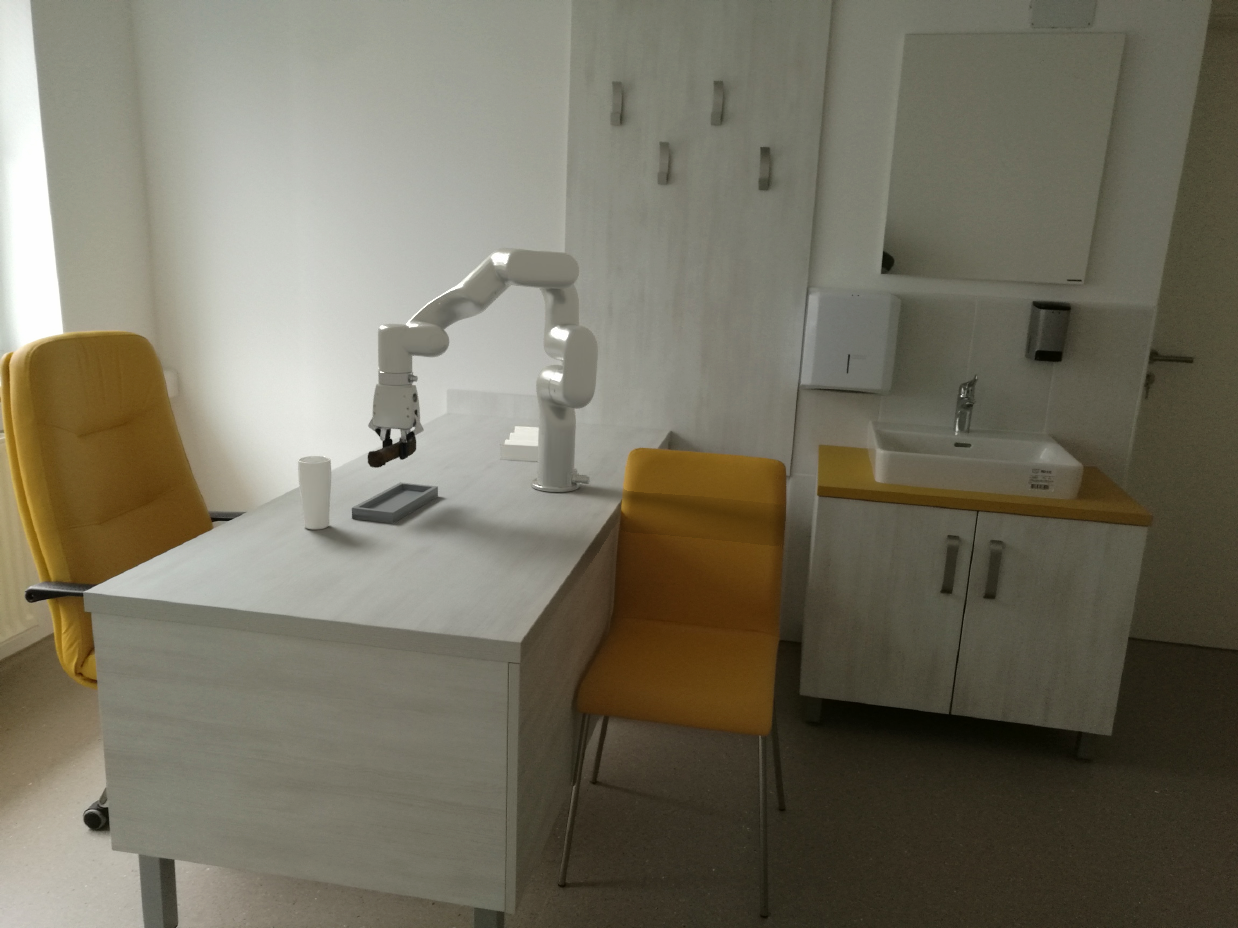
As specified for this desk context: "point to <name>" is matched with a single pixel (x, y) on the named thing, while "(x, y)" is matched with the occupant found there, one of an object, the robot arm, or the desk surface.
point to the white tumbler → (315, 490)
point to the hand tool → (388, 453)
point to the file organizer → (521, 445)
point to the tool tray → (394, 502)
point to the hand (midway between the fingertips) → (396, 456)
